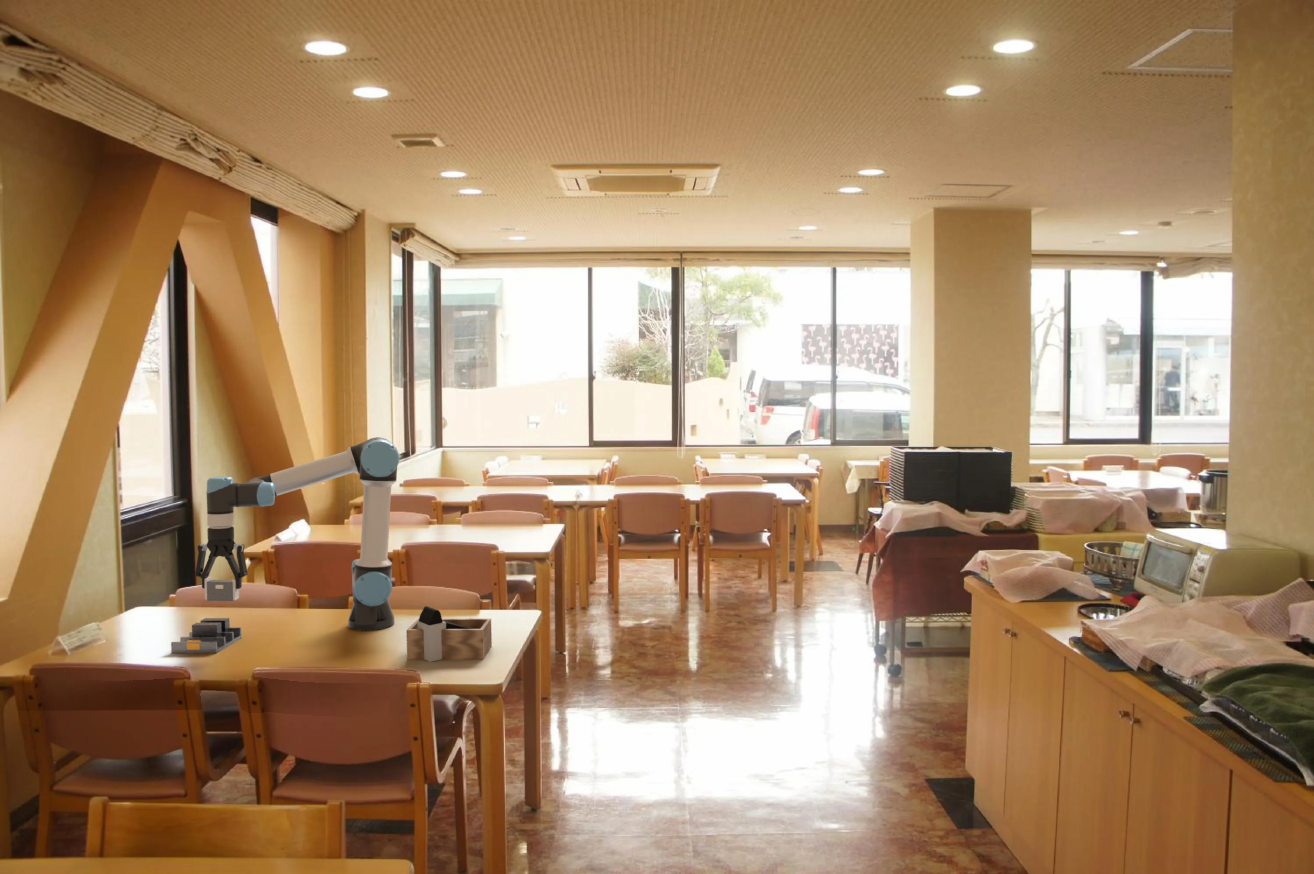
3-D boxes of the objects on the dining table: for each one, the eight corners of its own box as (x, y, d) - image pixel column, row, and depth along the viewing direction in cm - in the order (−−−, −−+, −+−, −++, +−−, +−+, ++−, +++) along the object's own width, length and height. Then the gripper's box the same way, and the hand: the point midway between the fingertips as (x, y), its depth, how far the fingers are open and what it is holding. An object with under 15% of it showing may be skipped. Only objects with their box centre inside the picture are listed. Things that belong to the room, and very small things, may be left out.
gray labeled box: (237, 598, 300) (236, 579, 299) (232, 601, 296) (232, 582, 296) (211, 598, 300) (211, 579, 299) (206, 600, 296) (206, 581, 296)
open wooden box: (491, 646, 299) (491, 618, 299) (483, 659, 286) (482, 629, 286) (418, 646, 300) (418, 618, 299) (407, 659, 287) (406, 630, 286)
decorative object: (483, 649, 296) (481, 601, 295) (430, 661, 284) (428, 612, 283) (469, 644, 302) (468, 597, 301) (417, 655, 290) (415, 607, 289)
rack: (241, 637, 313) (240, 616, 312) (215, 653, 295) (215, 631, 295) (199, 637, 313) (198, 616, 312) (171, 653, 296) (170, 631, 295)
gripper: (259, 525, 300) (260, 596, 302) (193, 524, 300) (194, 595, 302) (248, 528, 293) (250, 602, 294) (181, 528, 293) (182, 601, 294)
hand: (222, 598), depth 298 cm, fingers closed on gray labeled box, 8 cm apart
